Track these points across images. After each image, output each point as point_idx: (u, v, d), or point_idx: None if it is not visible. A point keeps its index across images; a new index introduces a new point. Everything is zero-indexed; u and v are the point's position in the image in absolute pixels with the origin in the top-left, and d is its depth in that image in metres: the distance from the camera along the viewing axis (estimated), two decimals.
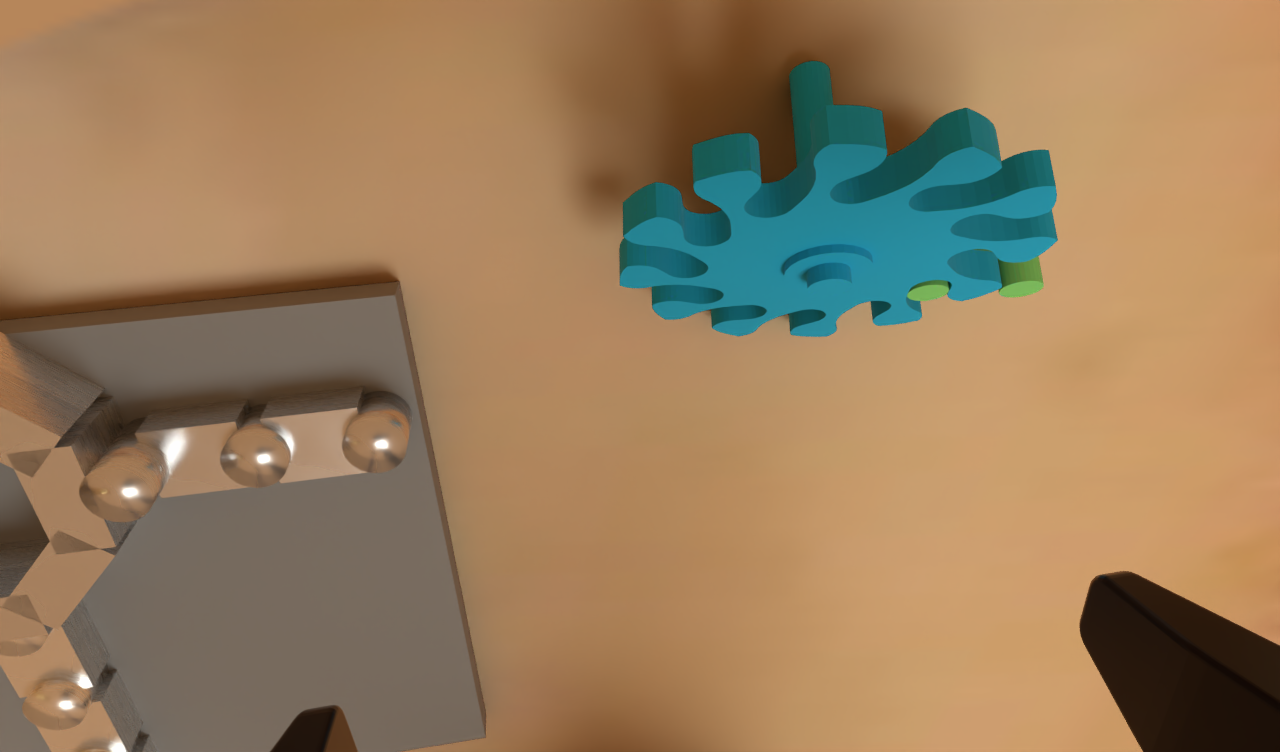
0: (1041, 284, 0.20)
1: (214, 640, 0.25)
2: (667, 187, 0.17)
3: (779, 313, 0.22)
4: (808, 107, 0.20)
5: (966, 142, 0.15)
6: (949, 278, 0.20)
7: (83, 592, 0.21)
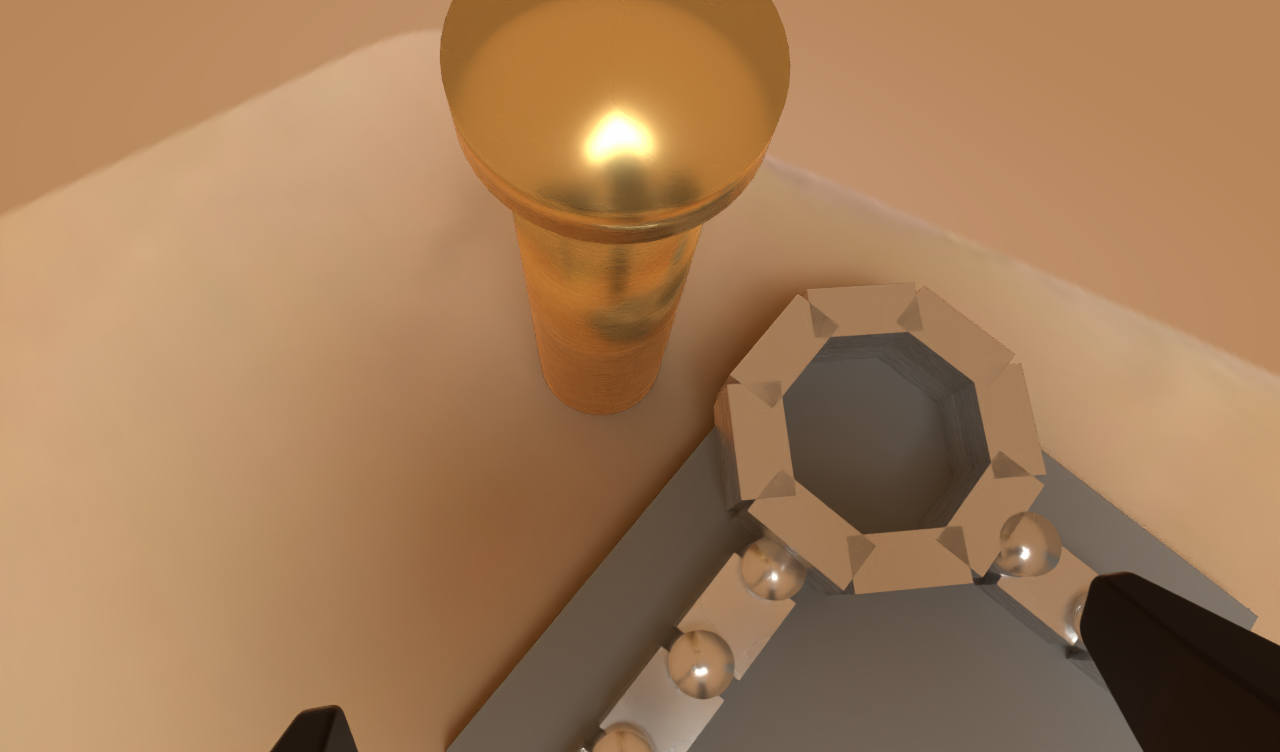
0: None
1: None
2: None
3: None
4: None
5: None
6: None
7: (914, 585, 0.20)
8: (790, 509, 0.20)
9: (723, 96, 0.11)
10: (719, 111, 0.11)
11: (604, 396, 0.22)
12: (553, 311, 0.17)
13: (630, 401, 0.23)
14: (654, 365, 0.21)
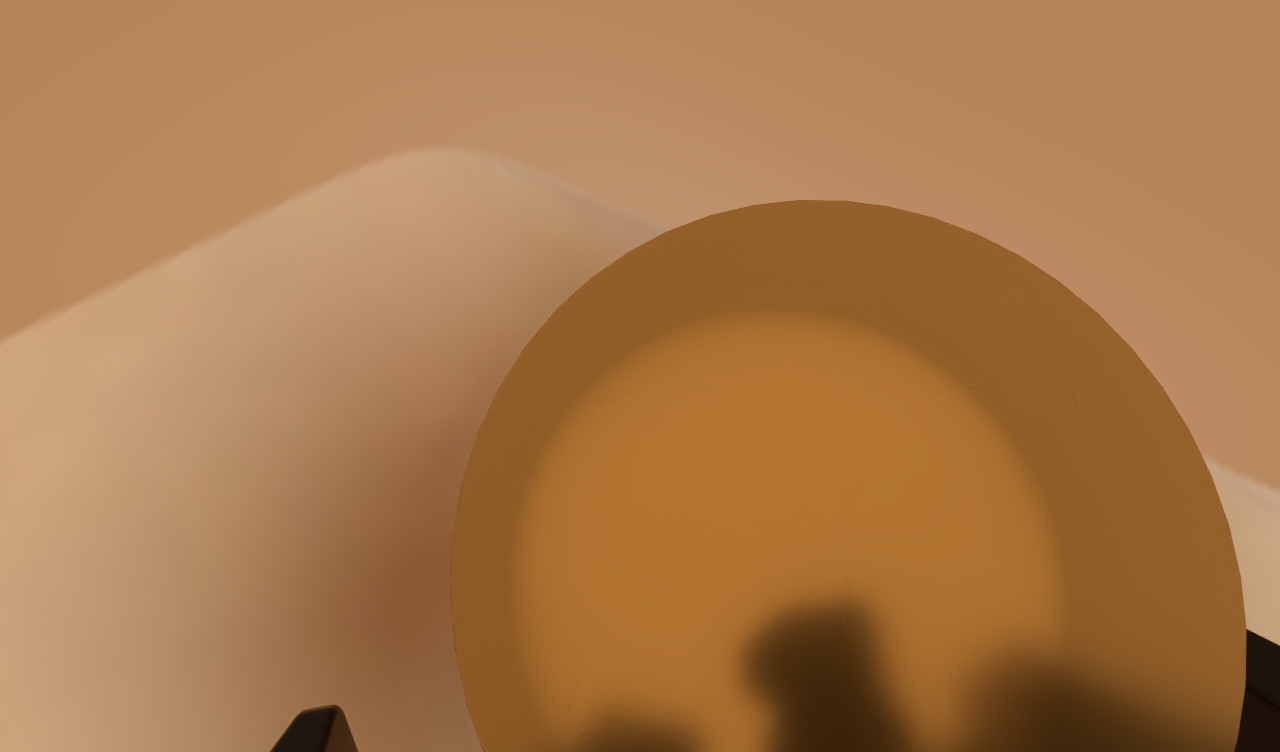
0: None
1: None
2: None
3: None
4: None
5: None
6: None
7: None
8: None
9: (1105, 668, 0.05)
10: (1102, 711, 0.05)
11: None
12: None
13: None
14: None
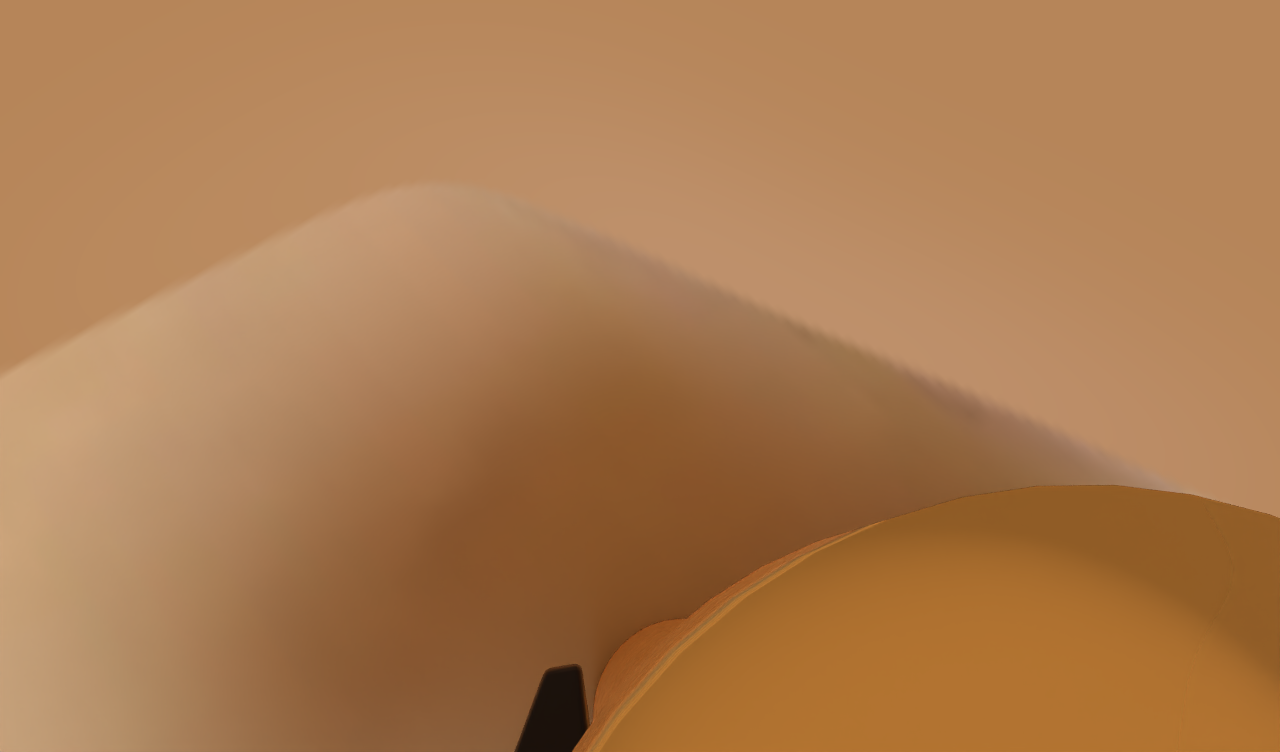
0: None
1: None
2: None
3: None
4: None
5: None
6: None
7: None
8: None
9: None
10: None
11: None
12: None
13: None
14: None
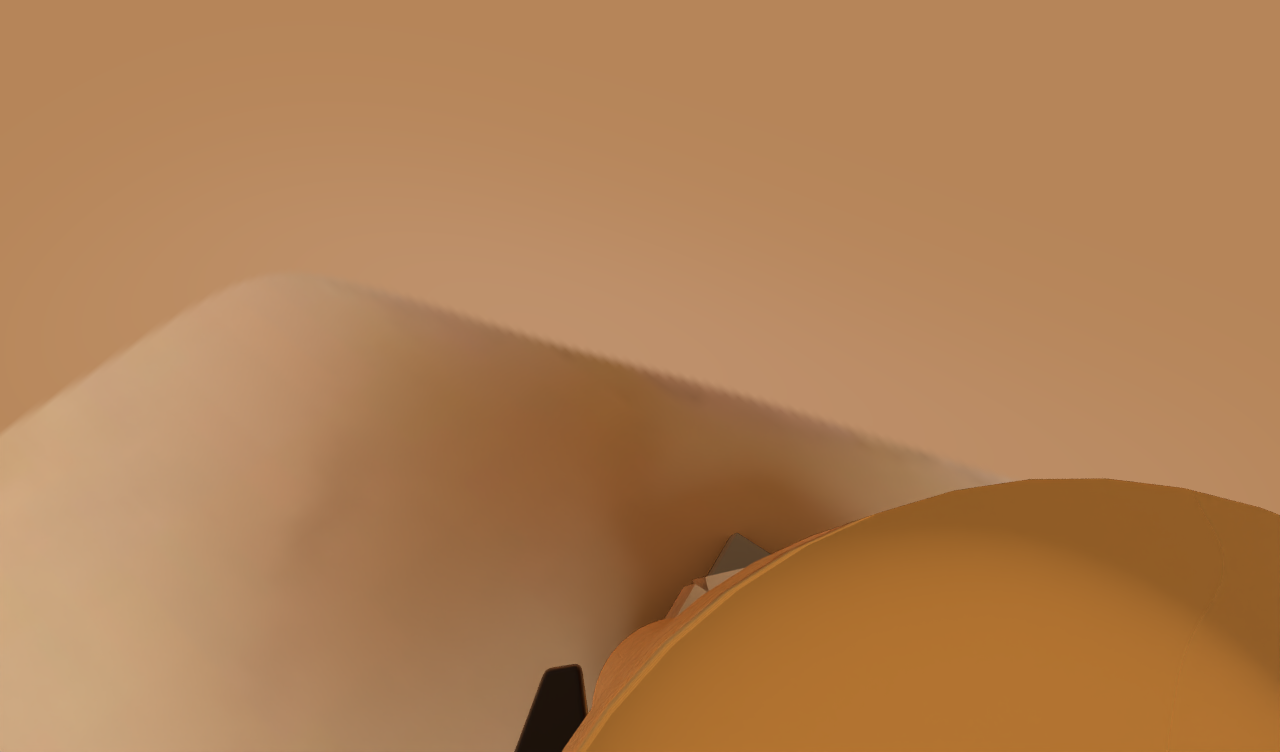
0: None
1: None
2: None
3: None
4: None
5: None
6: None
7: None
8: None
9: None
10: None
11: None
12: None
13: None
14: None
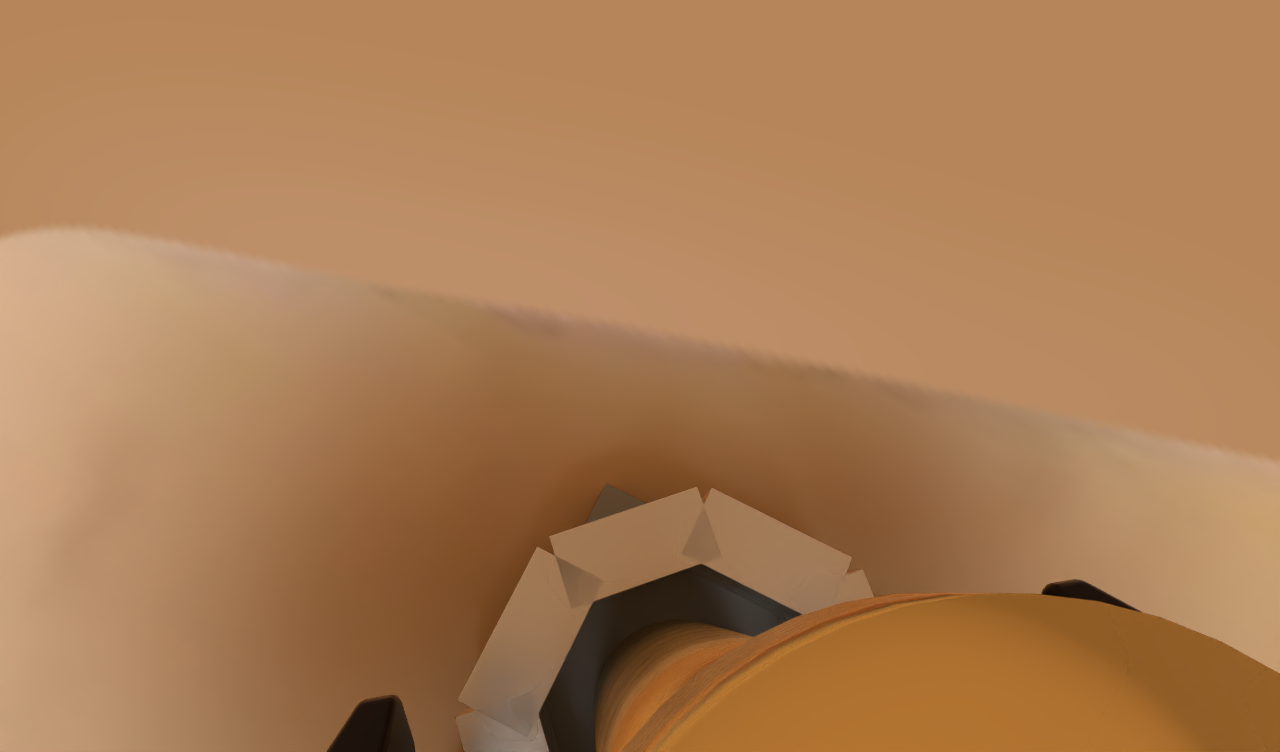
0: None
1: None
2: None
3: None
4: None
5: None
6: None
7: None
8: None
9: None
10: None
11: None
12: None
13: None
14: None
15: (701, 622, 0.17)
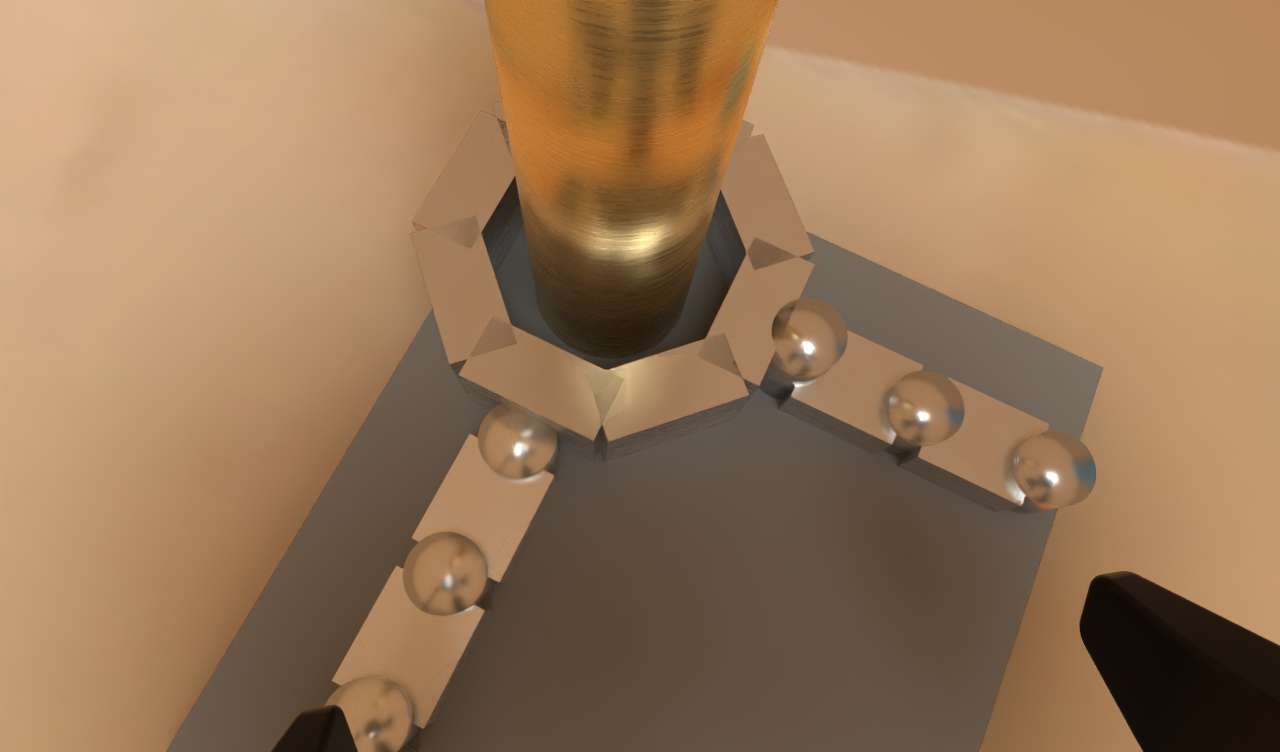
0: None
1: (632, 648, 0.17)
2: None
3: None
4: None
5: None
6: None
7: (678, 414, 0.16)
8: (512, 361, 0.16)
9: None
10: None
11: (618, 327, 0.17)
12: (548, 173, 0.12)
13: (650, 339, 0.18)
14: (684, 284, 0.16)
15: None
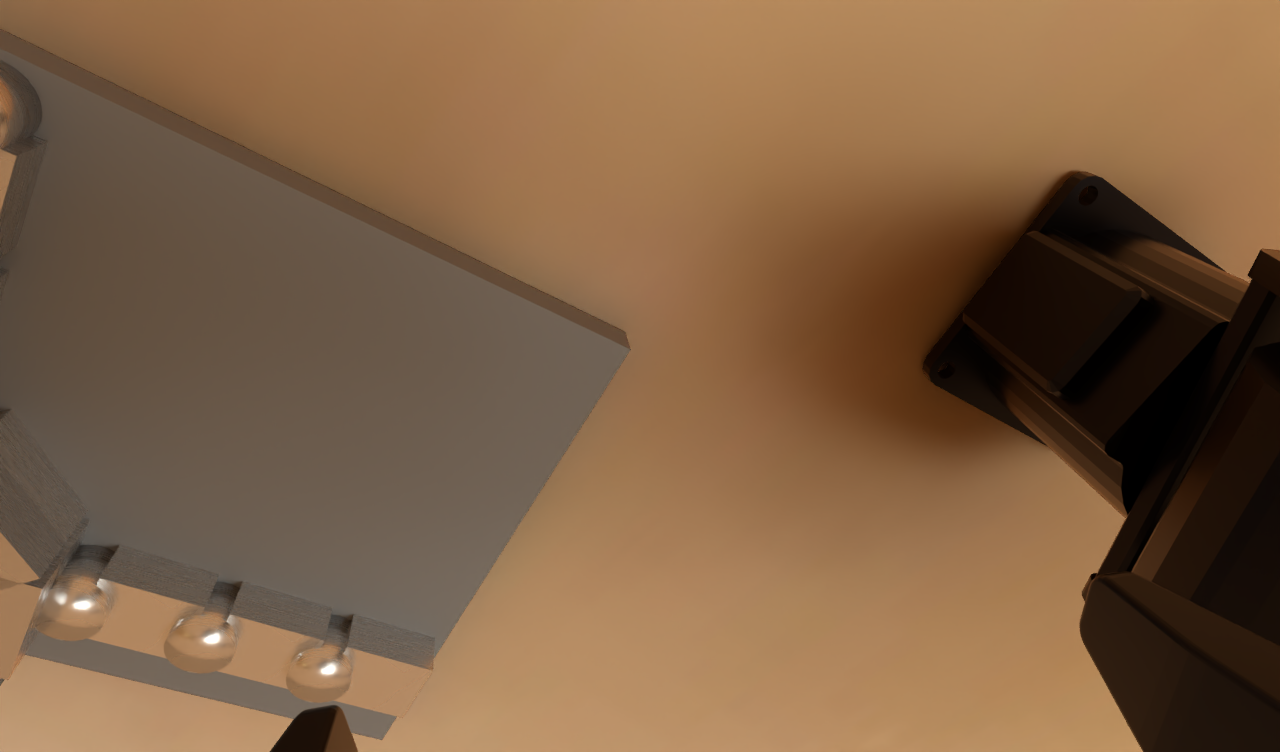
0: None
1: (260, 487, 0.20)
2: None
3: None
4: None
5: None
6: None
7: None
8: None
9: None
10: None
11: None
12: None
13: None
14: None
15: None
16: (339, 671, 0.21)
